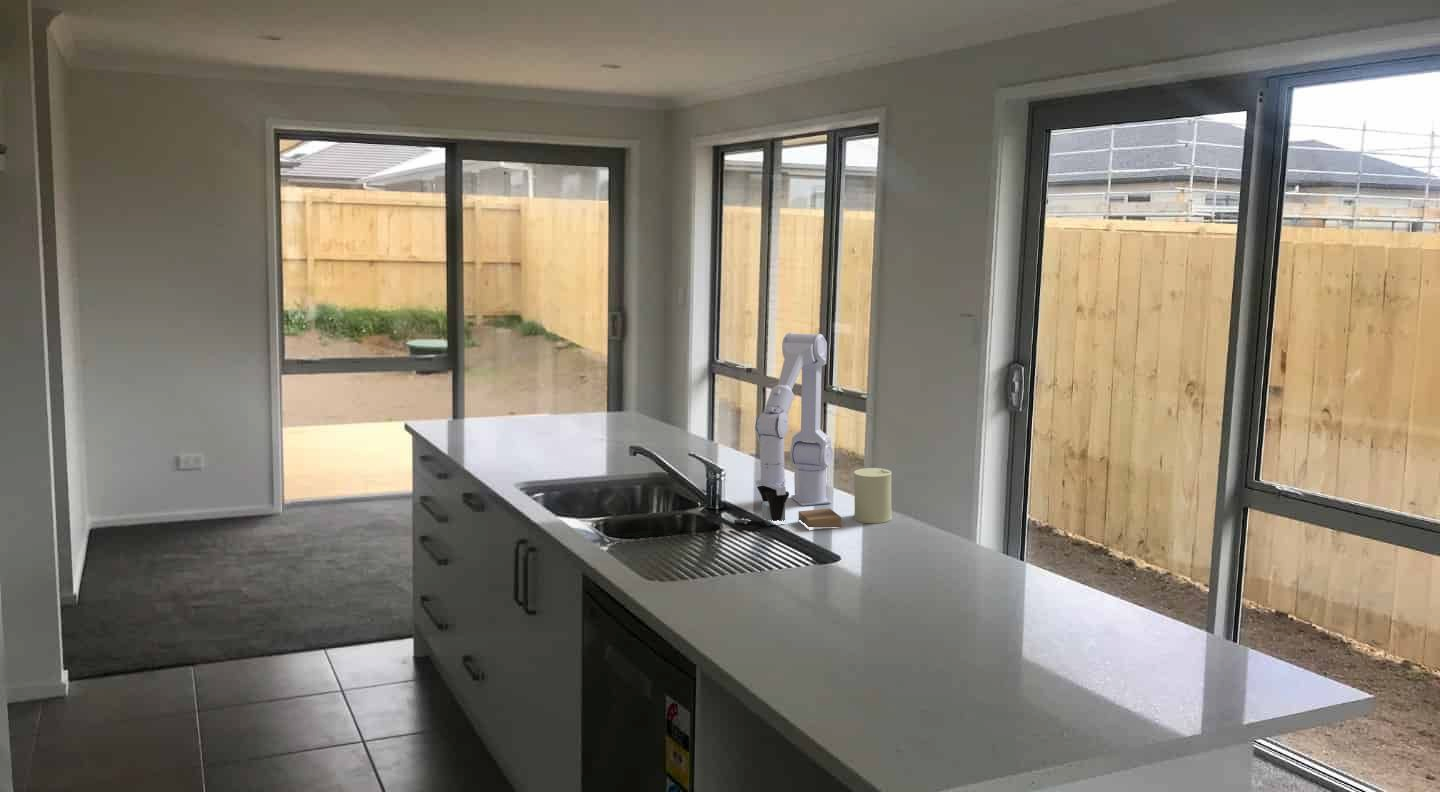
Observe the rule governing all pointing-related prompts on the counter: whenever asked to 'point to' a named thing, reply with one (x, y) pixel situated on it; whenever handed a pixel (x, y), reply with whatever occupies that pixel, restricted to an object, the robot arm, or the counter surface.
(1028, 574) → the counter surface
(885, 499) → the can
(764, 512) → the block
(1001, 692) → the counter surface
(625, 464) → the counter surface
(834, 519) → the slab
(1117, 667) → the counter surface
